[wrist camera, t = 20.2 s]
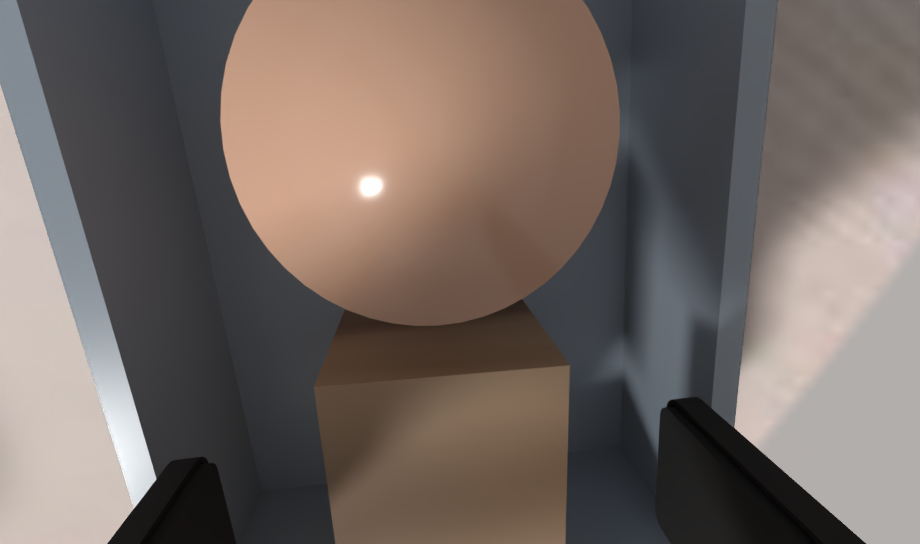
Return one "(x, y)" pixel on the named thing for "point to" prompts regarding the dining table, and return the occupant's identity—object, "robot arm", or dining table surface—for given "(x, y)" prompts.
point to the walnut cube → (445, 431)
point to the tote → (316, 319)
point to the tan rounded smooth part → (420, 147)
